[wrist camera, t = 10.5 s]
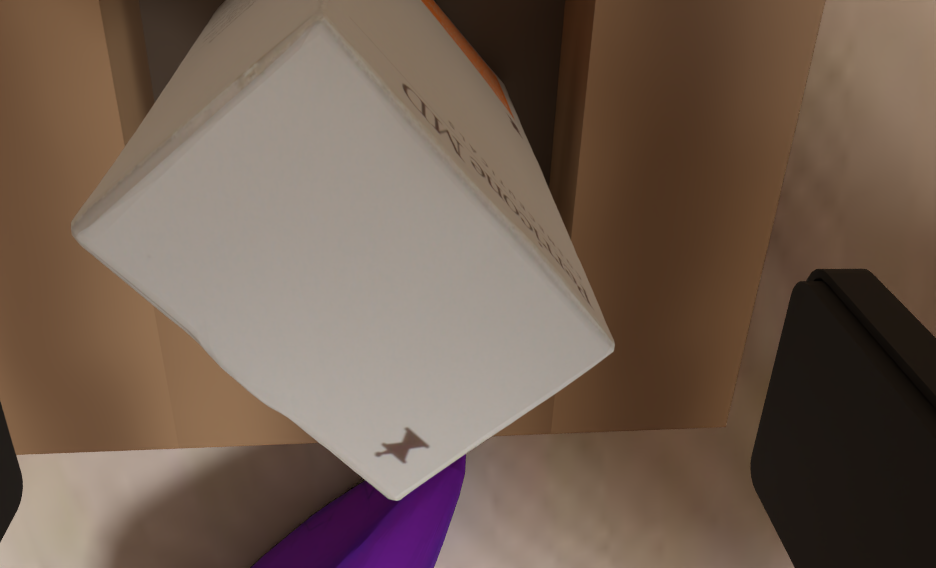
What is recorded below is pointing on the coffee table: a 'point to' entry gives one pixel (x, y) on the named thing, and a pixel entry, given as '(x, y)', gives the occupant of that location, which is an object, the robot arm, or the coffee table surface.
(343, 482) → the coffee table surface
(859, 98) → the coffee table surface
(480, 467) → the coffee table surface
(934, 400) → the robot arm
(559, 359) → the skincare box
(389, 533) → the purple petal shape
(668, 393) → the socket block
